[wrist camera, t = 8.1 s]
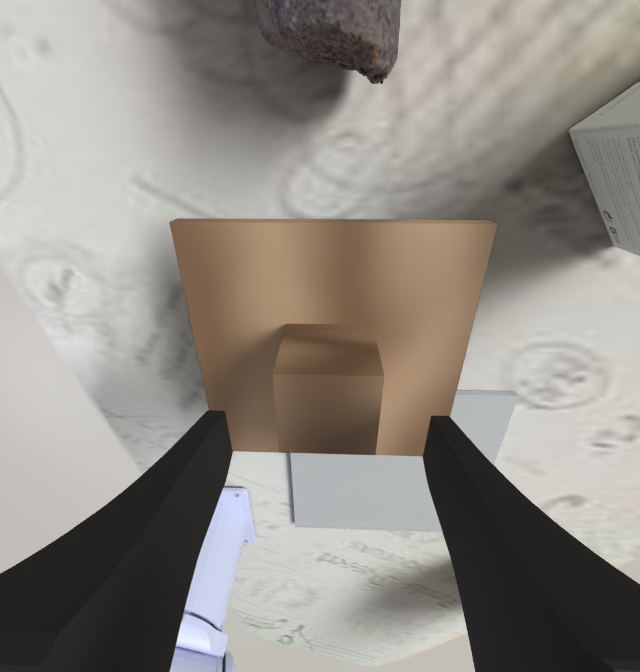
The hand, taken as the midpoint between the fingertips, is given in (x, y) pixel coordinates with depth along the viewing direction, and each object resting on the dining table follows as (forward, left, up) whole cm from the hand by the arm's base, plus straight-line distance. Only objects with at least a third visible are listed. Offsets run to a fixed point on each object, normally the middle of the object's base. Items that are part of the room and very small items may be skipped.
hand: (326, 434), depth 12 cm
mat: (+5, -14, -10) cm, 18 cm away
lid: (0, 0, -6) cm, 6 cm away
